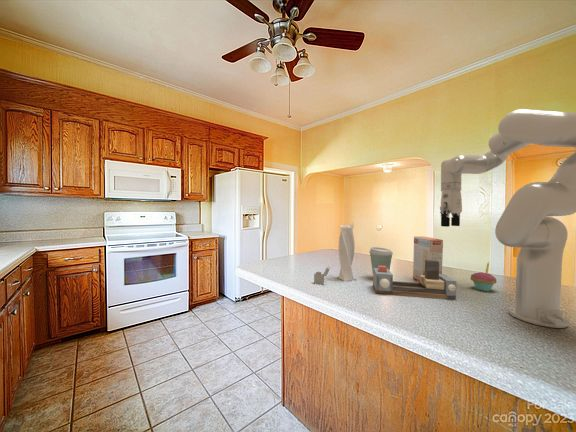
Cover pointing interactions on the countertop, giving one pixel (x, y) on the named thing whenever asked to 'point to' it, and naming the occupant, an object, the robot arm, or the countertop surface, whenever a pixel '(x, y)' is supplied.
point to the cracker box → (426, 254)
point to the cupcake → (483, 280)
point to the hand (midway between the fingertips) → (450, 226)
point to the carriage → (432, 276)
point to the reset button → (382, 268)
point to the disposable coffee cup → (380, 257)
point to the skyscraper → (346, 252)
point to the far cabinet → (383, 280)
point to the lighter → (320, 276)
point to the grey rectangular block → (448, 285)
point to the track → (415, 291)
